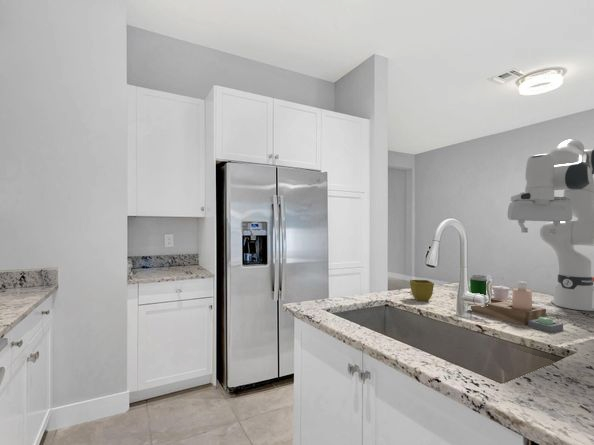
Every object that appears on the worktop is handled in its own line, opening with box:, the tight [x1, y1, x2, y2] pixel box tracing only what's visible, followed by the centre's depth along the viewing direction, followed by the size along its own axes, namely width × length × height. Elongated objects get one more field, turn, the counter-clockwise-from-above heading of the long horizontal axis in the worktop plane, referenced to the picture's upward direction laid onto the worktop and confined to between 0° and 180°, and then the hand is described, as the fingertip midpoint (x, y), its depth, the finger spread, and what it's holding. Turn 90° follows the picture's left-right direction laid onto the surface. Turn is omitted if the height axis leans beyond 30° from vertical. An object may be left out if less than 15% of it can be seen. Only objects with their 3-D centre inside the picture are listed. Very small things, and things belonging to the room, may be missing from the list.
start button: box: [538, 316, 554, 325], centre depth 111 cm, size 4×4×4 cm
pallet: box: [471, 297, 547, 326], centre depth 127 cm, size 13×22×6 cm, turn 25°
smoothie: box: [491, 276, 510, 301], centre depth 140 cm, size 6×6×14 cm
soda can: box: [469, 274, 488, 295], centre depth 157 cm, size 8×8×12 cm
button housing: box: [527, 319, 564, 333], centre depth 111 cm, size 7×7×3 cm
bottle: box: [511, 281, 533, 311], centre depth 121 cm, size 6×6×14 cm
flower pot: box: [409, 279, 435, 302], centre depth 157 cm, size 9×9×9 cm
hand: (538, 233), depth 122 cm, fingers open, 8 cm apart
